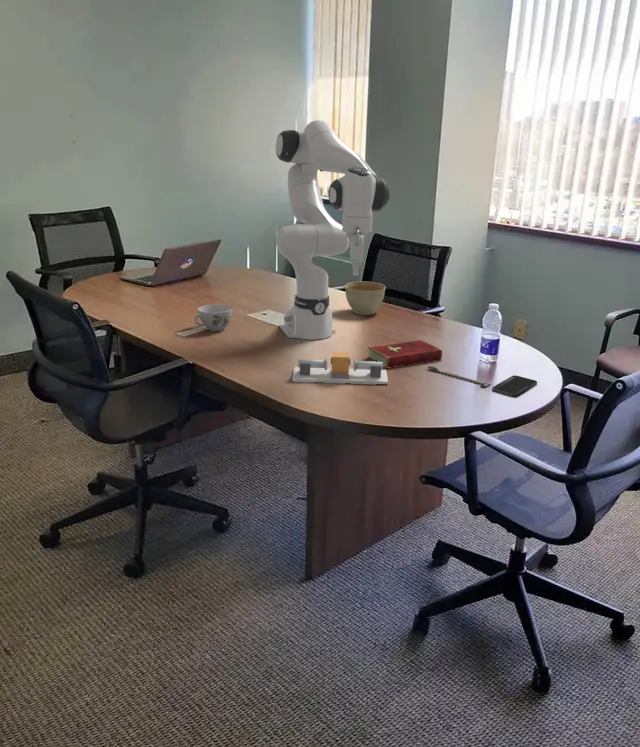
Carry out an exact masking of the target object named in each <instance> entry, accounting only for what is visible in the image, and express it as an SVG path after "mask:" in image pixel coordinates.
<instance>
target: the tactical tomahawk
mask: <svg viewBox="0 0 640 747" xmlns="http://www.w3.org/2000/svg"><path fill="white" fill-rule="evenodd" d="M427 368H428V369H430V370H433V371H434V372H435V373H437V374H440V373H441V375H443V374H445V375H444V376H447V375H448V376H447V377H451V376H453V377H452V378H454V377H456V378H455V379H458V378H459V379H458V380H461V379H463V380H462V381H465V380H467V381H466V382H469V381H470V382H469V383H472V382H473V384H476V385H479V384H480V388H483V389H487V388H488V387H490V385H491V384H492V383H488V384H487V382H484V383H483V382H481V381H478V380H475V379H471V378H468V377H465V376H461V375H458V374H455V373H451V372H449V371H441V370H439V369H438V368H437V367H435V366H427ZM491 386H492V385H491Z"/></svg>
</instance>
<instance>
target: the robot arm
mask: <svg viewBox="0 0 640 747" xmlns="http://www.w3.org/2000/svg"><path fill="white" fill-rule="evenodd" d="M275 153H276V156H277V158H278V160H279V161H281V162H284V163H288V164H289V163H290V164H291V163H292V164H293V165H291V167H289V169H288V172H287V192H288V196H289V197H288V198H289V203H290V208H291V213H292V215H293V216H294V218H295V219H296V220H297V221H299V222H301V223H302V224H301V223H300V224H299V223H297V224H290V225H286V226H282V227H281V228H279V230H278V231H277V233H276V236H275V245H276V248H277V250H278V251H277V252H279V253H280V255H282V256H283V257H284V258H286V259H287V261H288V262H289V263H290V264H291V266H292V267H293V270H294V274H295V279H296V280H295V281H296V294H294V295H293V296H294V301H293V302H294V303H293V306H291V307H290V308H289V309H287V311H286V312H285V315H284V316H283V321H284V322H281V323H279V326H278V327H279V328H280V329H281V331H282V332H283V333H284V334H285V336H287V338H290V339H301V340H310V341H311V340H313V341H314V340H322V339H323V340H324V339H328V338H330V337H331V336H332V335H333V333H335V332H336V328H334V327H333V313H332V309H331V308H329V306H330V296H329V274H328V272H327V271H326V270H325V269H324V268H322V267H321V266H318V265H315V264H314V263H313V258H315V257H333V256H337V255H342V254H345V253H346V252H347V250H348V249H349V259H350V262H351V263H352V266H351V267H352V276H357V277H359V275H360V268H361V267H360V265H361V263H363V261H364V245H365V244H364V242H365V241H364V239H366V238H368V234H370V233H372V231H373V220H374V219H373V217H374V216H373V212H380V211H381V210H382V209H384V208H385V206H386V205H387V204H388V202H389V201H390V188H389V185H388V184H387V182H386V181H385V180H384V178H382V177H381V176H379V175H377V173H375V171H373V169H372V168H371V167H370V166H369V164H368V163H367V162H366V161H365V160H364V159H363V157H362V156H361V155H360V154H358V152H356V151H354V150H352V149H351V148H350V147H348V146H347V145H345V143H343V142H342V141H341V140H340V138H339V137H338V135H337V134H336V132H335V130H334V129H333V128H332V126H330V125H329V124H328V123H327V122H326V121H323V120H320V119H315V120H313V121H311V122H309V123H308V124H307V125H306V126H305V127H304V130H295V129H289V130H288V129H287V130H283V131H281V132H280V133H279V134H278V135H277V137H276V142H275ZM318 171H320V172H325V173H326V172H328V173H337V174H342V175H343V176H342V177H341V176H340V177H339V178H336V179H333V181H332V182H331V184H330V185H329V187H328V202H329V204H330V205H331V207H333V209H335V210H337V211H343V213H342V224H341V223H339V222H338V221H336V220H335V219H334V218H332V216H331V215H330V214H329V212H327V210H326V208H325V206H324V202H323V197H322V194H321V190H320V184H319V181H318Z"/></svg>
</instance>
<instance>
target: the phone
mask: <svg viewBox="0 0 640 747" xmlns="http://www.w3.org/2000/svg"><path fill="white" fill-rule="evenodd" d="M537 385H538V381H537V380H535V379H532V378H527V377H523V376H520V375H514V374H513V375H511V376H510V377H507V378H506V379H504V380H503V381H501V382H499V383H498V384H495V385H493V386H492V388H491V390H492V392H494V393H496V394H497V393H498V394H502V395H505V396H507V397H512V398H518V397H519V396H521V395H523V394H524V393H526V392H528V391H529V390H530V389H532V388H534V387H535V386H537Z"/></svg>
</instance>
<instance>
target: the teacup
mask: <svg viewBox="0 0 640 747" xmlns="http://www.w3.org/2000/svg"><path fill="white" fill-rule="evenodd" d="M233 309H234V307H233V306H232V305H227V304H214V303H213V304H206V305H203V306H199V307H198V308H197V314H195V316H194V323H195V325H197V326H199V327H205V328H207V329H208V330H209V331H211V332H220V331H224V330H225V328H226V327H228V325H229V324H230V322H231V320H232V316H233ZM198 318H199V320H200V322H201V323H199V322H198V321H197V320H198Z"/></svg>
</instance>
